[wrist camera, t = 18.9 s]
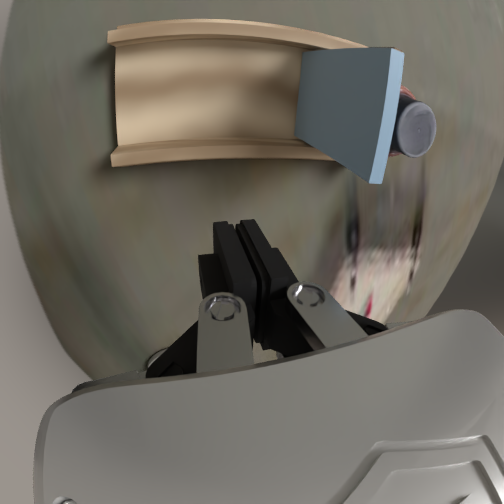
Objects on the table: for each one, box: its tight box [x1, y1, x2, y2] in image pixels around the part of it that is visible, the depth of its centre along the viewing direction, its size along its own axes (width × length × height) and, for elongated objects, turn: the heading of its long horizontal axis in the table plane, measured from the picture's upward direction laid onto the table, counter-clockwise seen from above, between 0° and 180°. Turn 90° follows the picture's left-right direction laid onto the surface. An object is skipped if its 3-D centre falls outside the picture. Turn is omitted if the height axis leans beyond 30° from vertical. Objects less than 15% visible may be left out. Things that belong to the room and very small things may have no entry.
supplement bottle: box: [388, 85, 436, 158], centre depth 18 cm, size 6×6×11 cm
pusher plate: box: [294, 47, 404, 184], centre depth 17 cm, size 8×1×12 cm, turn 176°
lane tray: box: [107, 19, 402, 167], centre depth 20 cm, size 13×24×5 cm, turn 86°
